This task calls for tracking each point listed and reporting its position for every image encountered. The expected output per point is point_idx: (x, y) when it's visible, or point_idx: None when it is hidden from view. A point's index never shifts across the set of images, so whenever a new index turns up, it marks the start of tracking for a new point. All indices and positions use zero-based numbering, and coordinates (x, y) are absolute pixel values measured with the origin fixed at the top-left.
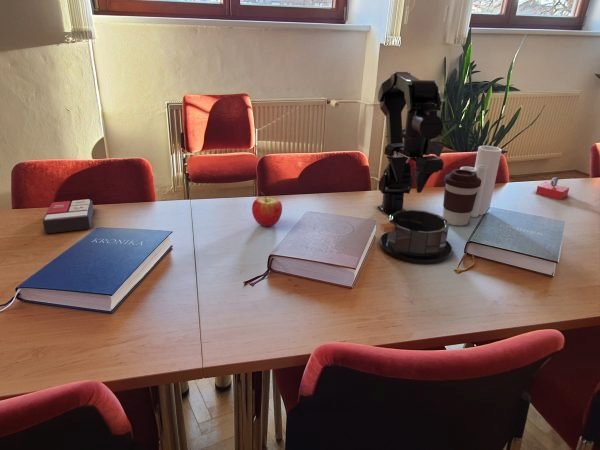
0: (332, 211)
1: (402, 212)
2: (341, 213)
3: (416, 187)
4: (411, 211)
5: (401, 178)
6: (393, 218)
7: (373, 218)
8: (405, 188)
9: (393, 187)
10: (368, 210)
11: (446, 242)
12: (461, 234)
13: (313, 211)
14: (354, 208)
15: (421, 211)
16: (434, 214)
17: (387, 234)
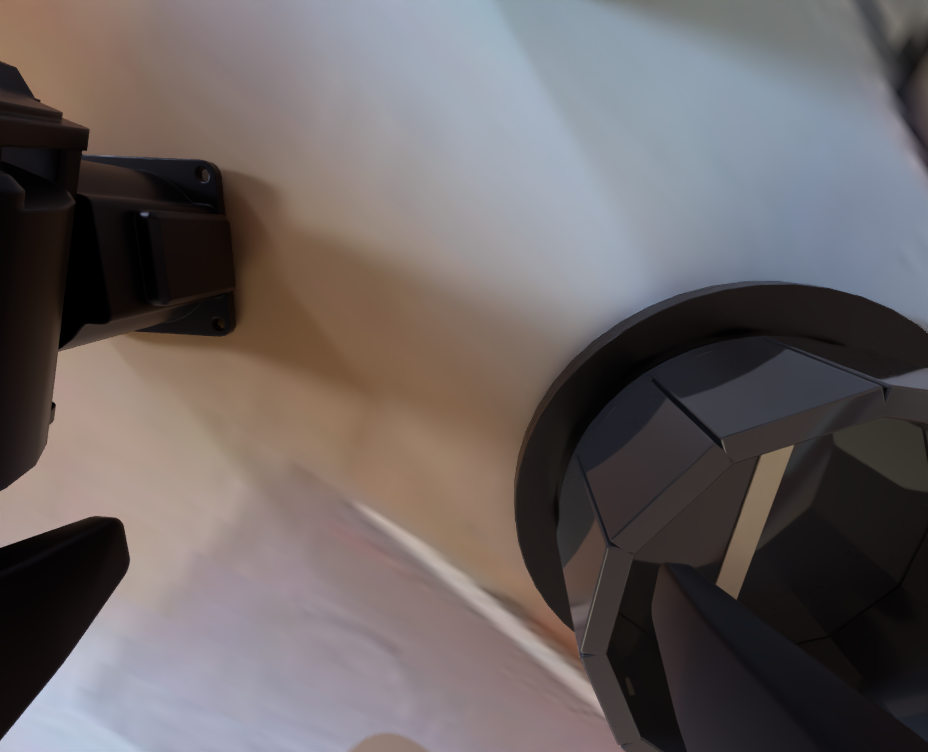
0: (104, 604)
1: (610, 622)
2: (142, 578)
3: (694, 732)
4: (636, 545)
5: (66, 550)
6: (630, 698)
7: (262, 458)
8: (68, 231)
9: (49, 400)
10: (126, 409)
11: (861, 315)
12: (772, 15)
13: (87, 683)
14: (77, 471)
15: (709, 483)
16: (852, 419)
17: (552, 574)
